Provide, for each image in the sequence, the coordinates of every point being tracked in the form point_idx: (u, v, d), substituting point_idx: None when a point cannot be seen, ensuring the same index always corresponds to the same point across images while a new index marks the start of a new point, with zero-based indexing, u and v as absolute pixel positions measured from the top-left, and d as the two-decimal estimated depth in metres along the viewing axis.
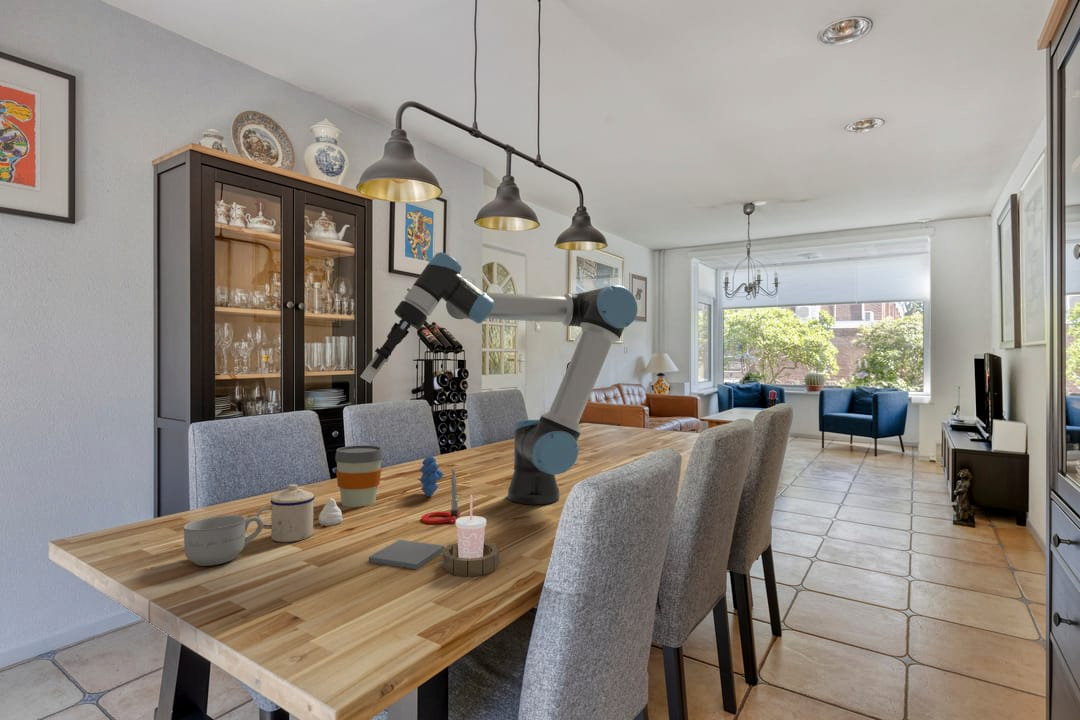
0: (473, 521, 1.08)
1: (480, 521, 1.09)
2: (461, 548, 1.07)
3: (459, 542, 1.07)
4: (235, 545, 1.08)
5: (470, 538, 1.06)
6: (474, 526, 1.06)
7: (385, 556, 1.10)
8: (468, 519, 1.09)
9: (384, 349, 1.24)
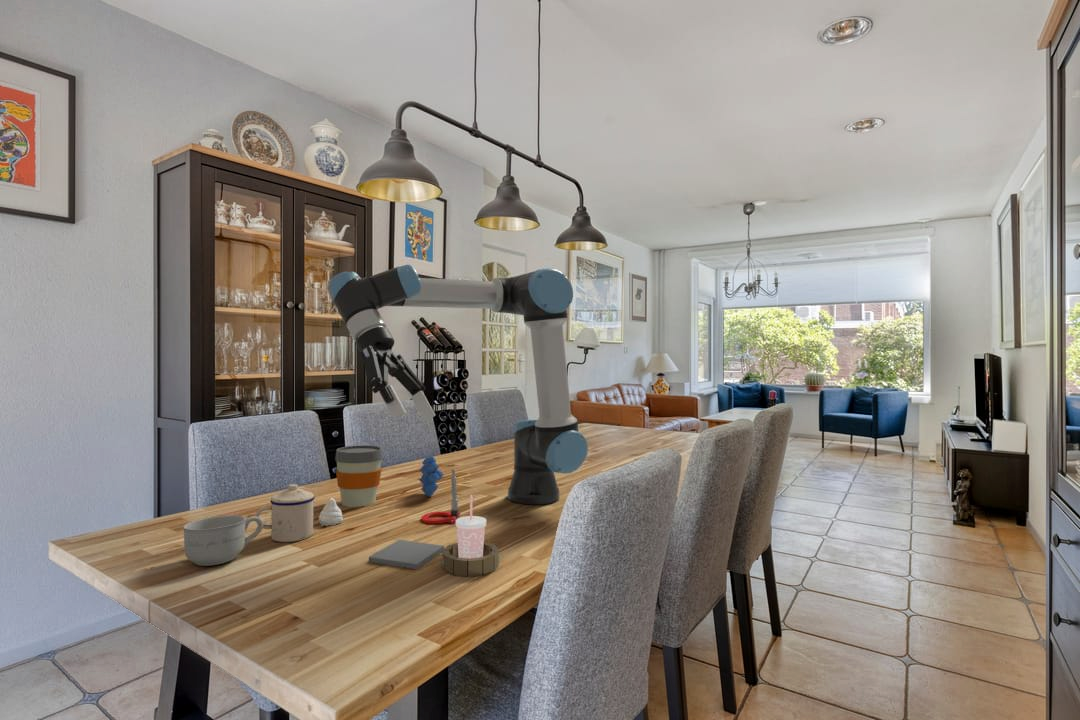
0: (473, 521, 1.08)
1: (480, 521, 1.09)
2: (461, 548, 1.07)
3: (459, 542, 1.07)
4: (235, 545, 1.08)
5: (470, 538, 1.06)
6: (474, 525, 1.06)
7: (385, 556, 1.10)
8: (468, 519, 1.09)
9: (371, 382, 1.07)
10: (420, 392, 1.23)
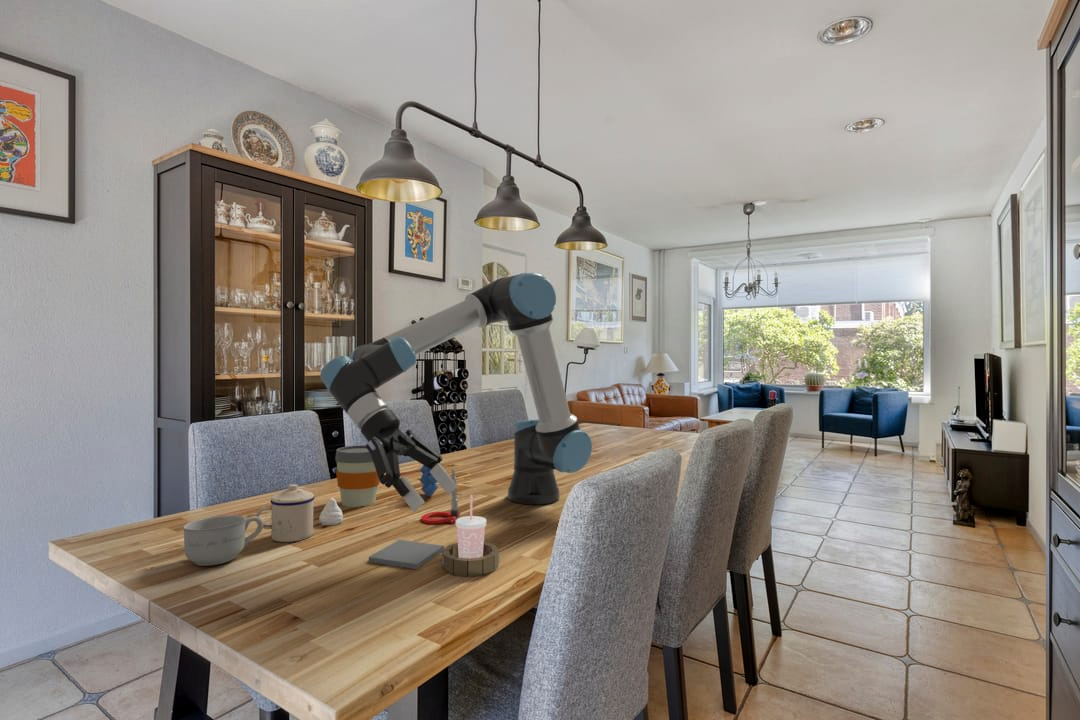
0: (473, 521, 1.08)
1: (480, 521, 1.09)
2: (461, 548, 1.07)
3: (459, 542, 1.07)
4: (235, 545, 1.08)
5: (470, 538, 1.06)
6: (474, 526, 1.06)
7: (385, 556, 1.10)
8: (468, 519, 1.09)
9: (382, 479, 1.03)
10: (437, 465, 1.18)
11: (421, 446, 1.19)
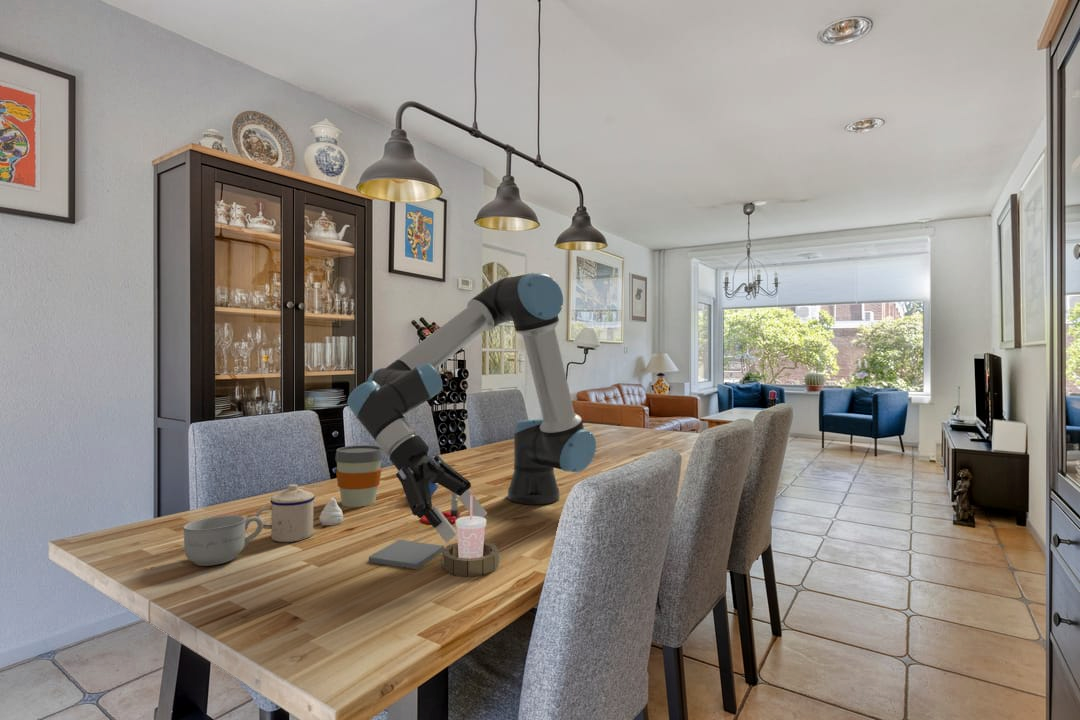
0: (473, 521, 1.08)
1: (480, 521, 1.09)
2: (461, 548, 1.07)
3: (459, 542, 1.07)
4: (235, 545, 1.08)
5: (470, 538, 1.06)
6: (474, 526, 1.06)
7: (385, 556, 1.10)
8: (468, 519, 1.09)
9: (414, 510, 1.01)
10: (466, 492, 1.16)
11: (449, 472, 1.17)
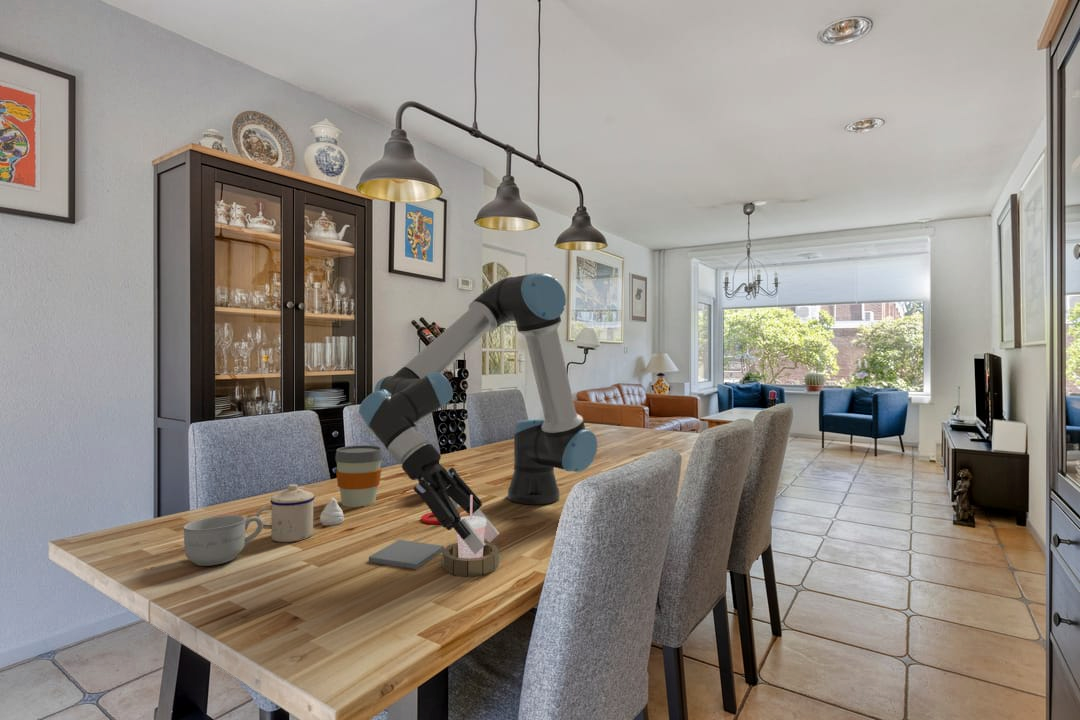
0: (473, 521, 1.08)
1: (480, 521, 1.09)
2: (461, 548, 1.07)
3: (459, 542, 1.07)
4: (235, 545, 1.08)
5: None
6: (474, 525, 1.06)
7: (385, 556, 1.10)
8: (468, 519, 1.09)
9: (445, 523, 1.03)
10: (477, 511, 1.12)
11: (461, 486, 1.15)
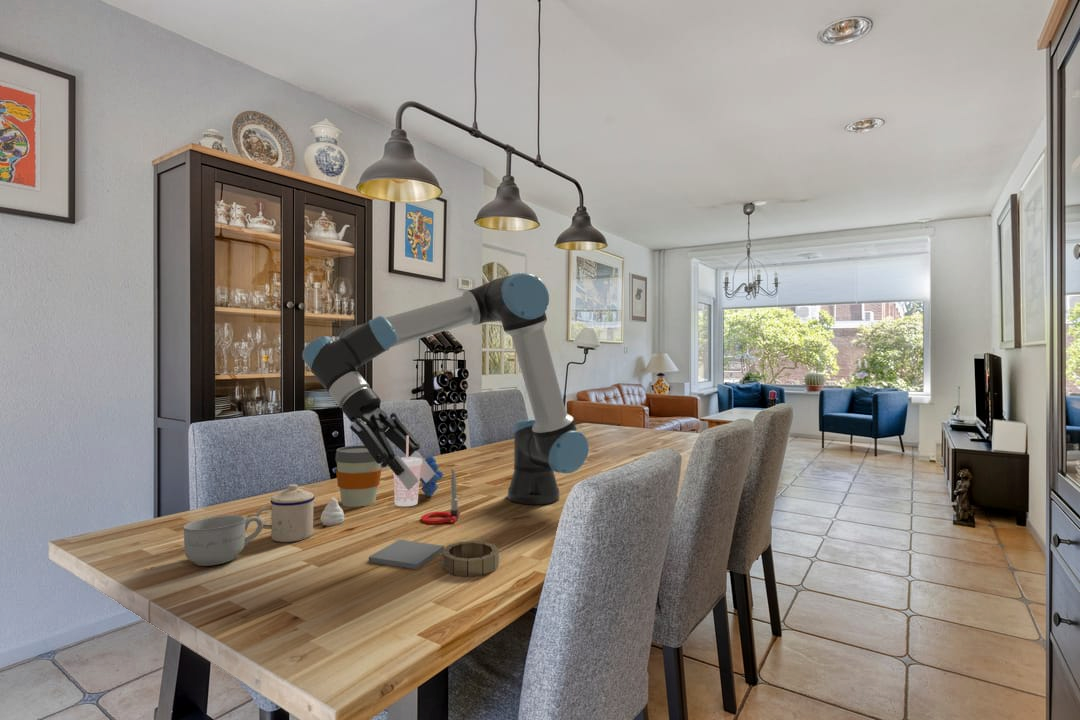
0: (408, 460, 1.12)
1: (415, 460, 1.13)
2: (396, 486, 1.11)
3: (395, 480, 1.12)
4: (235, 545, 1.08)
5: None
6: (408, 463, 1.10)
7: (385, 556, 1.10)
8: (404, 458, 1.13)
9: (378, 459, 1.08)
10: (415, 453, 1.16)
11: (401, 430, 1.20)
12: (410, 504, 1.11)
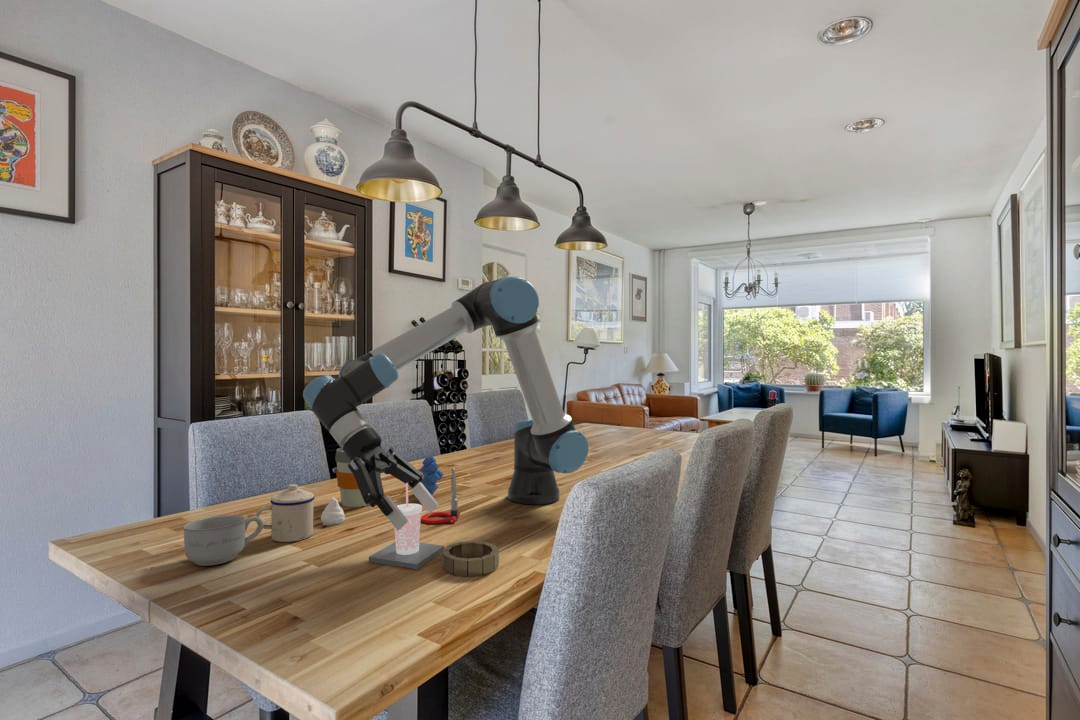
0: (408, 508, 1.13)
1: (415, 508, 1.13)
2: (397, 534, 1.12)
3: (395, 528, 1.12)
4: (235, 545, 1.08)
5: (405, 524, 1.11)
6: (408, 512, 1.11)
7: (385, 556, 1.10)
8: (404, 506, 1.13)
9: (366, 499, 1.06)
10: (419, 484, 1.19)
11: (403, 464, 1.21)
12: (411, 552, 1.12)
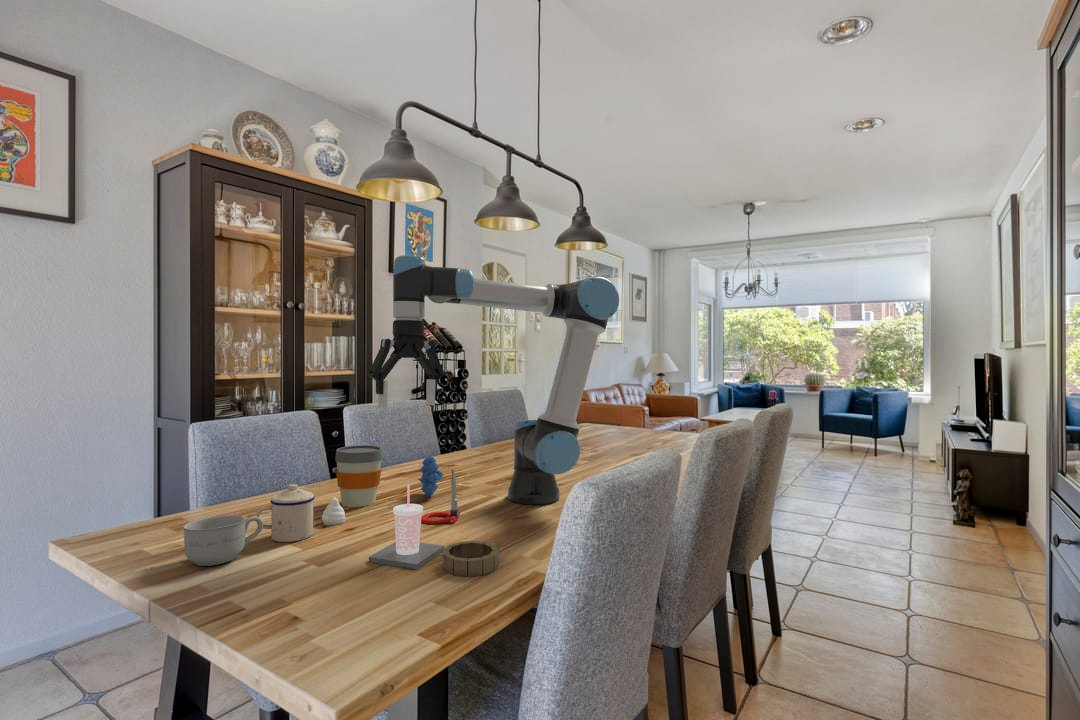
0: (410, 508, 1.13)
1: (416, 508, 1.13)
2: (398, 534, 1.12)
3: (396, 528, 1.12)
4: (235, 545, 1.08)
5: (405, 524, 1.11)
6: (409, 512, 1.11)
7: (385, 556, 1.10)
8: (405, 506, 1.13)
9: (369, 374, 1.28)
10: (432, 381, 1.39)
11: (433, 358, 1.40)
12: (411, 553, 1.12)
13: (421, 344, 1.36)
